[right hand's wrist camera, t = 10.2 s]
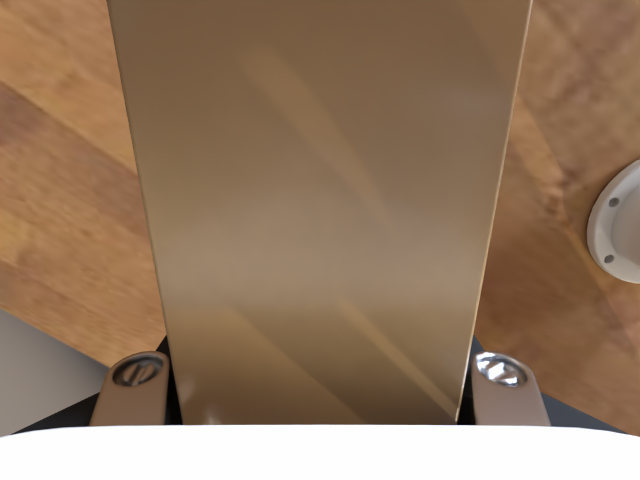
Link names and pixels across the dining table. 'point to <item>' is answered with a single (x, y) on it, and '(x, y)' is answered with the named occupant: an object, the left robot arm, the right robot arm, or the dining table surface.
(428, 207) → the beam
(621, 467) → the right robot arm
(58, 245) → the dining table surface
